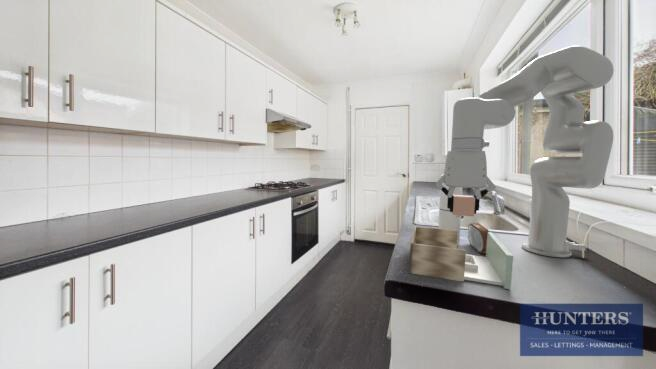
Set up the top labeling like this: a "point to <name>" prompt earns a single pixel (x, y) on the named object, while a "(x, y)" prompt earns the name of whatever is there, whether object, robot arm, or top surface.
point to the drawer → (490, 264)
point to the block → (463, 205)
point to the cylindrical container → (449, 213)
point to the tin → (478, 237)
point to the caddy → (436, 254)
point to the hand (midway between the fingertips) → (462, 211)
